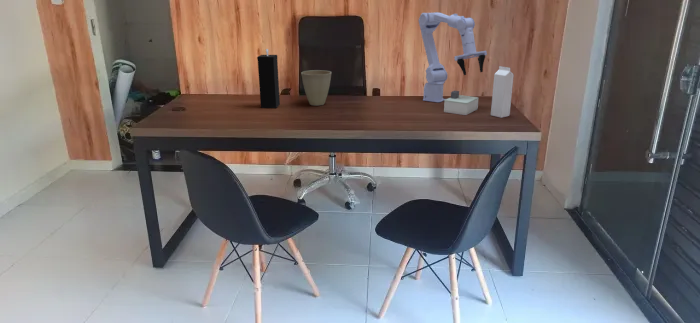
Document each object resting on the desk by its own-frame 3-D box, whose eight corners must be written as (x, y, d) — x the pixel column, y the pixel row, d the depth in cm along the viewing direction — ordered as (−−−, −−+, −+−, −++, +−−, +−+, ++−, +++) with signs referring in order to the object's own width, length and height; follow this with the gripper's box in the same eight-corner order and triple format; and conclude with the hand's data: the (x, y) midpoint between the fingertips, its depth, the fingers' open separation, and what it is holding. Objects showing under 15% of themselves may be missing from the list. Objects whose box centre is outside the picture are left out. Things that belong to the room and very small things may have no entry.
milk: (501, 118, 220) (506, 68, 213) (490, 115, 225) (494, 66, 217) (509, 115, 224) (514, 67, 216) (498, 113, 228) (503, 65, 220)
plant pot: (331, 107, 241) (330, 74, 236) (300, 107, 241) (299, 74, 236) (332, 100, 255) (332, 69, 250) (304, 100, 255) (302, 69, 250)
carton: (443, 111, 231) (444, 101, 229) (456, 106, 242) (456, 96, 240) (466, 115, 225) (466, 104, 223) (477, 109, 236) (478, 98, 234)
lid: (444, 101, 229) (444, 93, 228) (456, 95, 240) (457, 88, 239) (466, 104, 223) (467, 96, 222) (478, 98, 234) (479, 91, 233)
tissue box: (280, 104, 247) (277, 47, 238) (276, 108, 240) (273, 49, 230) (264, 104, 248) (261, 47, 238) (260, 108, 240) (256, 49, 231)
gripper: (454, 45, 223) (459, 75, 224) (486, 39, 222) (491, 69, 223) (451, 48, 230) (456, 77, 231) (482, 42, 230) (487, 71, 230)
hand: (473, 73), depth 228 cm, fingers open, 7 cm apart
